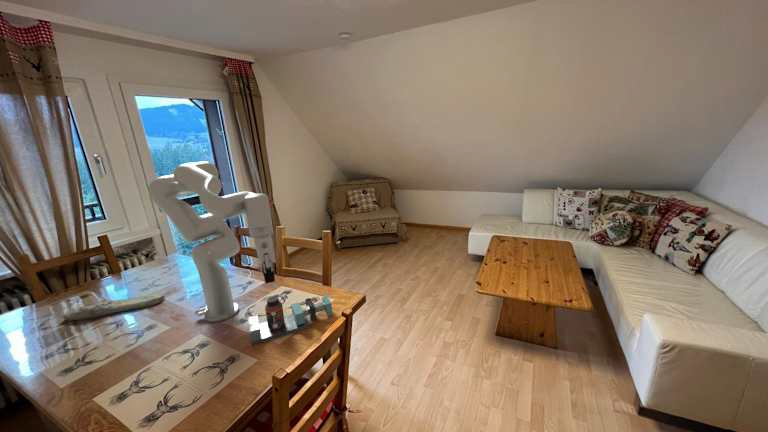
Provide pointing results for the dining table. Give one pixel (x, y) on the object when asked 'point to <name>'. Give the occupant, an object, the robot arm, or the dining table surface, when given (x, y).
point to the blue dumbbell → (301, 312)
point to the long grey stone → (112, 307)
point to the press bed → (264, 334)
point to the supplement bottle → (274, 313)
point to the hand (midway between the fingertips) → (269, 277)
